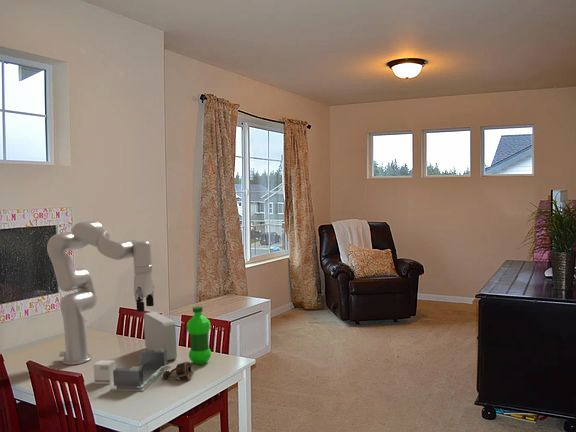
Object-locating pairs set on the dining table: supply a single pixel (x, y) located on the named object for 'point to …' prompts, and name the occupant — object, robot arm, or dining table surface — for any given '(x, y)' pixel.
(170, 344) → the rounded white slab
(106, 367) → the block
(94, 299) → the robot arm
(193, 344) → the plastic bottle
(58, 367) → the dining table surface
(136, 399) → the dining table surface
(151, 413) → the dining table surface
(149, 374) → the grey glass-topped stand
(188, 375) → the brown antique clock
